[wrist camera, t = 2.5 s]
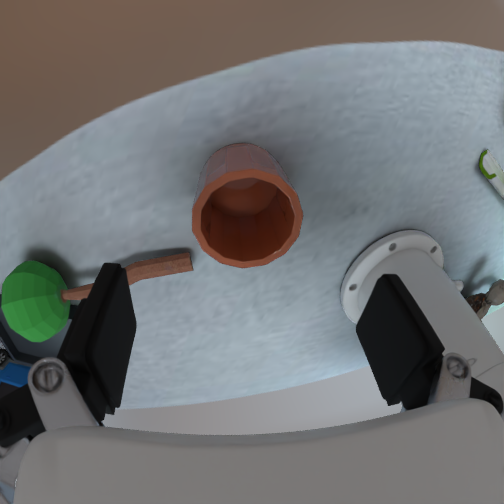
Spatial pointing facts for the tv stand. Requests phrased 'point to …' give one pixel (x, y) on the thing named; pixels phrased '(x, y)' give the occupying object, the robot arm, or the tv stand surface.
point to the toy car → (11, 374)
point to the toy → (487, 299)
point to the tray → (28, 350)
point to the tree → (63, 293)
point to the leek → (492, 171)
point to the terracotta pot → (245, 207)
